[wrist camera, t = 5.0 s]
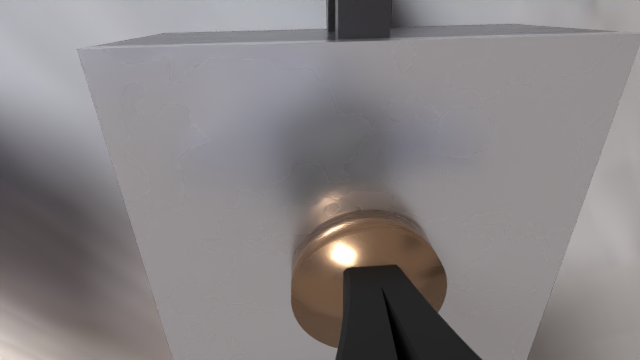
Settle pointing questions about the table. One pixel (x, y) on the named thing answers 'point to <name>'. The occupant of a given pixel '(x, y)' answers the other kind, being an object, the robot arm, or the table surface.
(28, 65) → the table surface
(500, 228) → the press
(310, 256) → the brass door knob
